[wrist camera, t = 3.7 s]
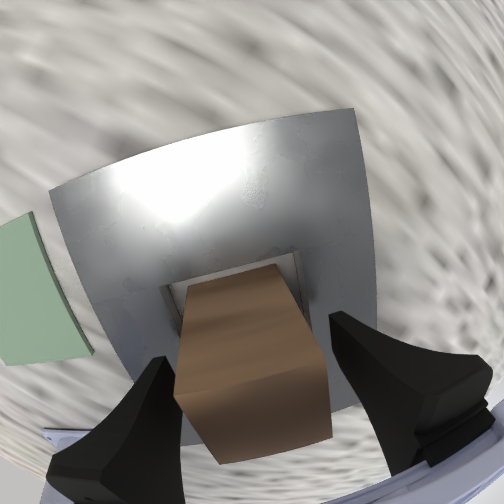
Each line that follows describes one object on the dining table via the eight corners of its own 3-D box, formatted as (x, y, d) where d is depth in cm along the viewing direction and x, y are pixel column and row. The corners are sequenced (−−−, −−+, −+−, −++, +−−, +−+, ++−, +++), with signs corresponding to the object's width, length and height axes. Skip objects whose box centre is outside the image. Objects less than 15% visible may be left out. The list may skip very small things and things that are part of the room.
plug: (289, 333, 16) (332, 437, 9) (213, 353, 16) (219, 464, 9) (275, 263, 15) (326, 359, 8) (188, 286, 15) (173, 395, 8)
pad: (93, 351, 15) (92, 355, 15) (8, 362, 15) (6, 366, 14) (31, 211, 12) (27, 213, 12) (-45, 254, 12) (-49, 256, 11)
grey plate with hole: (365, 383, 19) (373, 397, 17) (180, 430, 18) (179, 446, 17) (340, 111, 13) (353, 108, 11) (63, 186, 12) (48, 191, 11)
